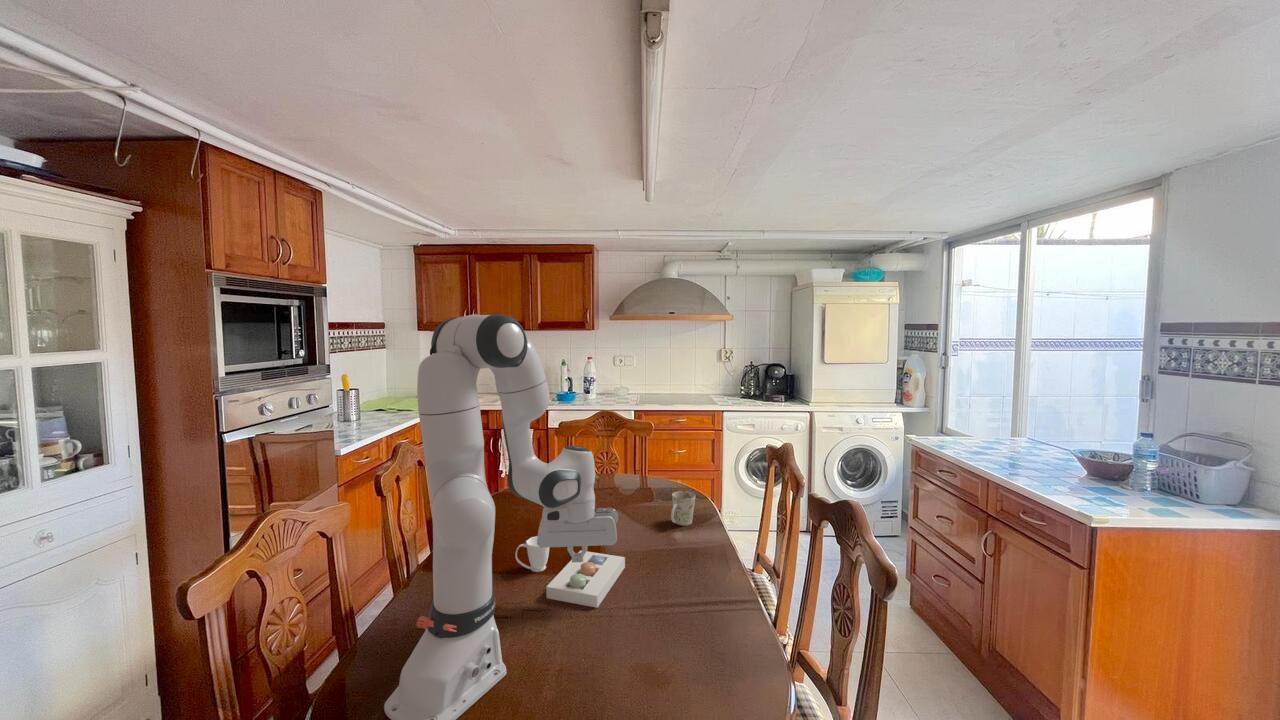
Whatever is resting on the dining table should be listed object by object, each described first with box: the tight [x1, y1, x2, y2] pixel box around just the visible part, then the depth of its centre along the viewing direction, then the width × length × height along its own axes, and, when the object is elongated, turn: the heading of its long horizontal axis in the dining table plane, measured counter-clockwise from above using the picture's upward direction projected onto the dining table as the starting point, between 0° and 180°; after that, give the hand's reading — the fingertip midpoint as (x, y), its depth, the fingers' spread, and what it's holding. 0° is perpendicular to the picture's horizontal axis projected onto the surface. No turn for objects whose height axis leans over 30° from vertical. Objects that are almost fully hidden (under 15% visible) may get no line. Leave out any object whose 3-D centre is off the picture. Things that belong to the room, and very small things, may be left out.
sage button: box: [570, 574, 586, 590], centre depth 120 cm, size 4×4×3 cm
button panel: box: [545, 549, 626, 608], centre depth 126 cm, size 21×14×3 cm
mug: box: [670, 490, 696, 527], centre depth 164 cm, size 8×13×10 cm, turn 148°
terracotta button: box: [581, 562, 595, 577], centre depth 126 cm, size 4×4×3 cm
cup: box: [514, 535, 551, 573], centre depth 133 cm, size 7×10×8 cm
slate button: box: [590, 556, 604, 565], centre depth 132 cm, size 4×4×3 cm
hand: (577, 561), depth 119 cm, fingers closed
